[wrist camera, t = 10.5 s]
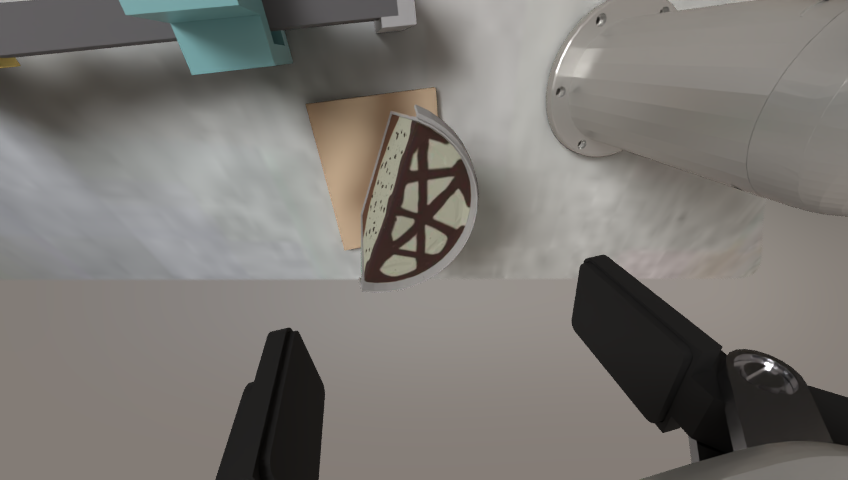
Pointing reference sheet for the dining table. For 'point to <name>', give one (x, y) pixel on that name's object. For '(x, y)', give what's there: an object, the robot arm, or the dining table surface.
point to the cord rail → (164, 23)
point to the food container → (416, 203)
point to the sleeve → (217, 32)
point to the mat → (357, 147)
